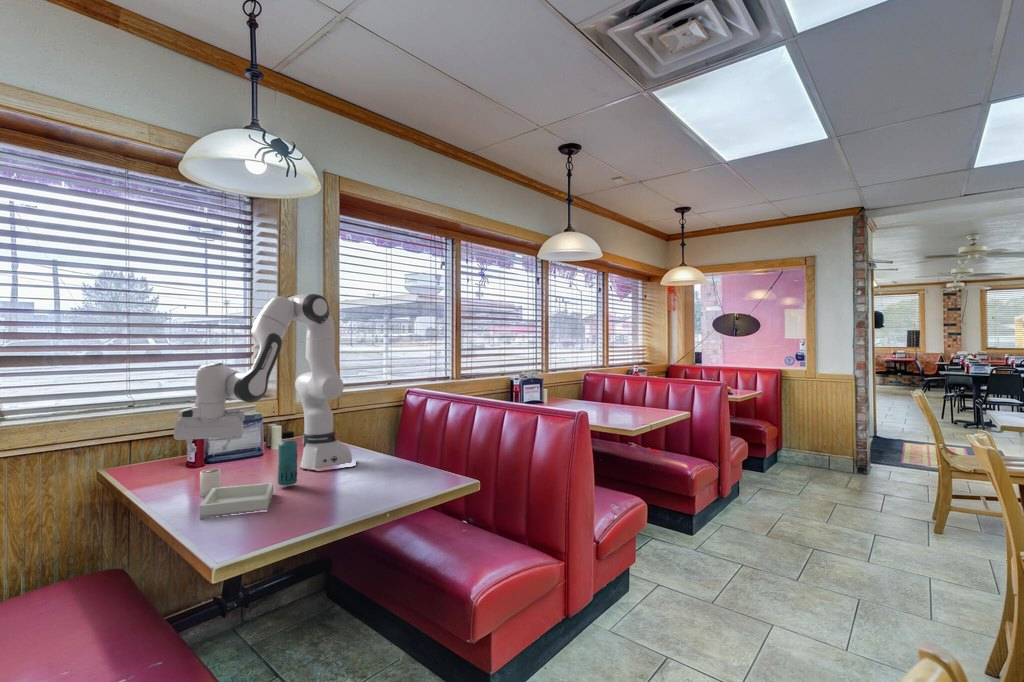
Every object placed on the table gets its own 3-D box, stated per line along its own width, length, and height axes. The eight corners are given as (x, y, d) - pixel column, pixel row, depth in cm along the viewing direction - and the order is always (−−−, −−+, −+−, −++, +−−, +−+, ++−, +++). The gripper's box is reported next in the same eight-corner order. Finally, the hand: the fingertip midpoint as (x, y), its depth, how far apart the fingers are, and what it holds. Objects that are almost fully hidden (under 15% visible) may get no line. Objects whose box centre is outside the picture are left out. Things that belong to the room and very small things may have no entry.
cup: (222, 490, 170) (222, 467, 170) (218, 496, 165) (218, 472, 165) (202, 492, 168) (202, 469, 168) (197, 498, 163) (197, 473, 163)
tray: (273, 494, 167) (273, 482, 167) (267, 512, 150) (267, 499, 150) (212, 500, 161) (212, 487, 161) (199, 519, 144) (199, 505, 144)
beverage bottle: (277, 491, 171) (278, 433, 170) (277, 485, 177) (277, 430, 176) (298, 488, 174) (298, 432, 173) (296, 483, 180) (297, 429, 179)
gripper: (246, 408, 173) (245, 447, 173) (178, 410, 166) (177, 451, 165) (243, 411, 167) (242, 451, 167) (172, 412, 160) (171, 455, 160)
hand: (209, 451), depth 166 cm, fingers open, 8 cm apart
